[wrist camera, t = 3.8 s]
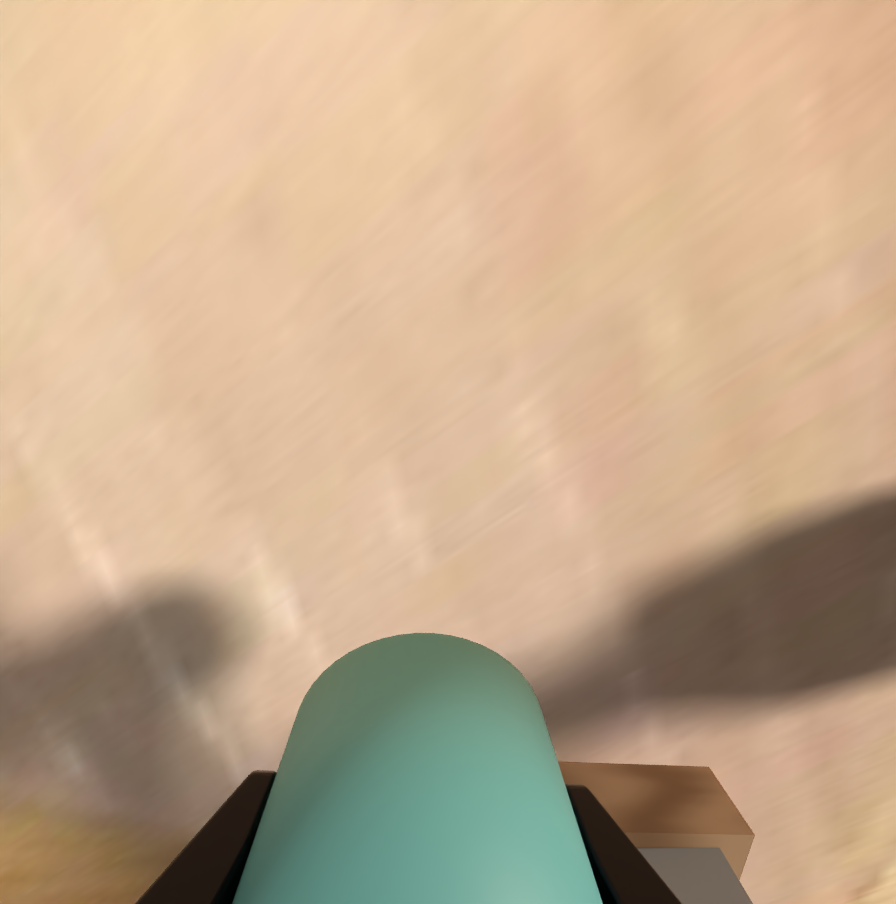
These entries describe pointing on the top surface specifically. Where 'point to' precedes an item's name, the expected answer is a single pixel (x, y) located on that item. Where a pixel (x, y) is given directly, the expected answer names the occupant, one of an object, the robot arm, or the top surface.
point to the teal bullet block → (419, 788)
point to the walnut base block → (667, 806)
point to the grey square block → (697, 875)
